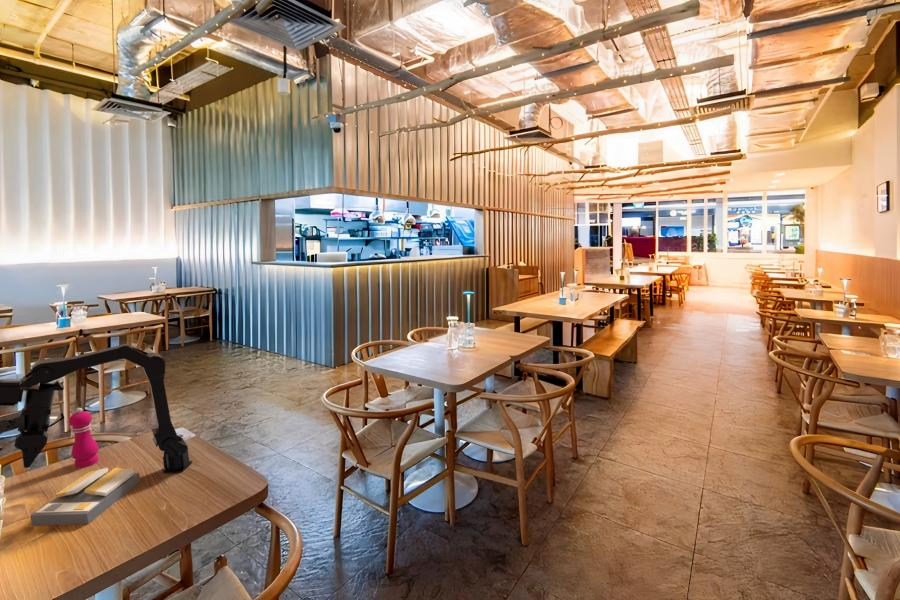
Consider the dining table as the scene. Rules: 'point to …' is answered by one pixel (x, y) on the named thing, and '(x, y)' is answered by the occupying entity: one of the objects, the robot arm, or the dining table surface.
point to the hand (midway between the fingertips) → (27, 460)
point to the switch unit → (80, 505)
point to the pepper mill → (83, 439)
